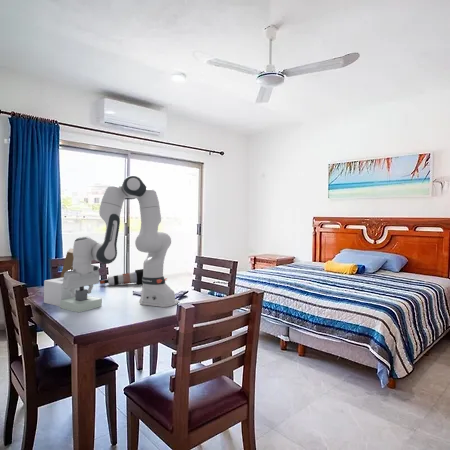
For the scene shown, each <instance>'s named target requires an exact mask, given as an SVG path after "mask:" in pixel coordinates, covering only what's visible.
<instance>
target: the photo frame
mask: <svg viewBox="0 0 450 450" xmlns="http://www.w3.org/2000/svg"><path fill="white" fill-rule="evenodd" d="M73 260H74V256H73V248H71V247H69V248H68V250H67V252H66V254H65V259H64V262H63V266H62V269H61V272H60V276H59V278H63V277H64V273H65V272H66V271H68V270H73ZM66 273H67V272H66Z"/></svg>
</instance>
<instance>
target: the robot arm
mask: <svg viewBox="0 0 450 450" xmlns="http://www.w3.org/2000/svg"><path fill="white" fill-rule="evenodd" d="M135 199H136V200H137V202H138V204H139V213H140V229H139V232H138V233H139V234H138V235H137V237H136V238H135V241H134V243H135V248H136V249H137V250H138V251H139V252H141V253H147V256H146V258H145V260H144V261H143V267H142V269H143V276H142V283H143V284H142V287H141V288H142V289H141V293H140V298H139V305H142V306H152V307H161V308H167V307H173V306H175V305H176V306H177V303H178V304H179V303H180V300H178V299H176V295H175V294H176V293H175V292H174V290H173V289H172V288H171V287H170V286H169V285H168V284H167V283H166V281H167V280H168V277H167V278H165V276H164V265H165V262H164V261H165V257H166V255H167V251H168V249H169V248H170V246H171V244H172V238H171V236H170V235H169V234H168V233H166V232H161V231H158V230H159V225H160V224H161V223H162V215H161V214H162V213H161V208H160V207H161V206H160V201H159V198H158V195H157V192H156V191H155V189H152V188H147V185H146V184H145V183H144V181H143V180H142V179H141V178H140V177H138V176H137V175H129V176H127V177H126V178H125V179H124V180H123V182H122V184H121V185H115V184H114V185H109V186H107V188H106V189H105V191H104V193H103V196H102V199H101V202H100V205H99V211H98V212H99V213H98V214H99V216H100V218H101V219H102V220H103V222H104V223H105V226H106V228H105V234H104V238H103V239H104V240H103V241H102V242H99V241H96V240H94V239H93V238H91V237H90V236H81V237H78V238H76V239H75V240H74V243H73V247H72V249H73V256H74V260H73V270H68V271H66V272H67V273H66V272H65V273H64V279H63V288H64V289H69V291H70V292H71V297H76V293H74V291H73V290H75V288H78V287H83V286H84V287H87V286H88V288H87V290H88V291H87V295H88V294H92V290H93V288H94V285H97V284H100V281H101V280H100V276H101V275H100V271H99V270H100V266H99V265H94V264H92V262H93V261H96V262H100V263H102V264H104V265H108V264H112V263H113V262H114V261H115V260H116V258H117V256H118V248H117V247H118V245H117V242H118V237H119V231H120V225H121V223H120V222H121V212H122V208H123V204H124V201H125V200H135Z"/></svg>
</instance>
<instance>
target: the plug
mask: <svg viewBox="0 0 450 450" xmlns="http://www.w3.org/2000/svg"><path fill="white" fill-rule="evenodd" d="M87 291H88V288H87V289H86V288H85V286H83V287H80V289H78V290H76V300H77V301H84V300H87V296H88V293H87Z"/></svg>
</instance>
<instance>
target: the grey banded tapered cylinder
mask: <svg viewBox="0 0 450 450" xmlns="http://www.w3.org/2000/svg"><path fill="white" fill-rule="evenodd" d="M142 276H143V268H140V269H135V270H134V271H133V272H127V273H122V274H117V275H111V276H107V279H104V280H99V284H100V285H102V284H108V287H109V286H116V285H127V284H128V285H129V284H136V285H143V283H142Z"/></svg>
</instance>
